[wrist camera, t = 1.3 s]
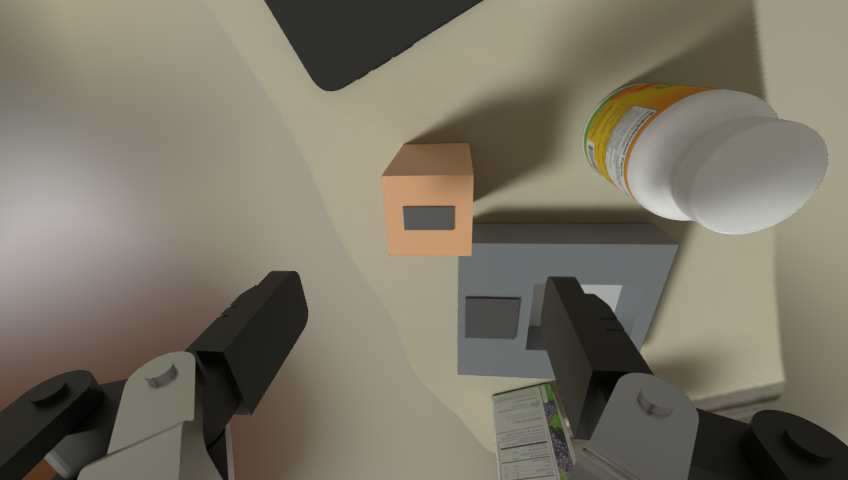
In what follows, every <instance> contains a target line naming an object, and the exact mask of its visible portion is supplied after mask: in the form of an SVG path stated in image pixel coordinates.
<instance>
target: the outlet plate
mask: <svg viewBox="0 0 848 480" xmlns="http://www.w3.org/2000/svg"><path fill="white" fill-rule="evenodd" d="M678 246H679V244H678V243H676V242H675V241H674V240H673V239H671V238H670V237H669V236H668V235H666V234H665V233H664V232H663V231H661V230H660V229H659V228H658V227H656V226H655V225H654V224H653V223H472V252H471V256H458V375H479V376H501V377H522V378H544V379H555V376H554V372H553V369H552V366H551V363H550V360H549V356H548V353H547V350H546V347H545V343H544V340H543V337H542V332H541V312H542V306H543V299H544V292H545V286H546V280H547V278H548V277H549V276H567V277H576V279H577V280H578V282H579V284H580V285H581V287H582V289H583V291H584V292H585V293H586V294H595V295H597V296H598V297H599V298H601V299H602V300H603V301H604V302H606V303H607V304H608V305H609V306H610V307H611V309H612V311H613V312H614V314H615V315H616V317H617V320H618V321H620V323H621V325H622V326H623V328H624V329H625V332H627V334H628V336H629V337H630V339H631V340H632V342H633V343H634V345H635V346H636V348H637V350H638V351H639V353H640V350H641V347H642V345H643V342H644V339H645V336H646V334H647V331H648V328H649V326H650V323H651V320H652V317H653V315H654V312H655V309H656V306H657V304H658V301H659V298H660V295H661V293H662V290H663V287H664V284H665V282H666V279H667V276H668V274H669V271H670V268H671V265H672V263H673V260H674V257H675V254H676V252H677V249H678Z"/></svg>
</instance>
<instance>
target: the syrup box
mask: <svg viewBox="0 0 848 480" xmlns="http://www.w3.org/2000/svg"><path fill="white" fill-rule="evenodd" d="M492 409H493V421H494V433H495V445H496V456H497V467H498V478H499V480H567V479H568V477H569V475H570V473H571V471H572V469H573V466H574V464H575V462H576V458H575V455H574V451H573V448H572V444H571V441H570V438H569V434H568V431H567V427H566V424H565V421H564V418H563V415H562V412H561V410H560V407H559V405H558V402H557V400H556V398H555V395H554V393H553V391H552V389H551V386H550V385H549V384H543V385H538V386H534V387H529V388H525V389H520V390H516V391H512V392H508V393H504V394H500V395H495V396H492Z"/></svg>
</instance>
